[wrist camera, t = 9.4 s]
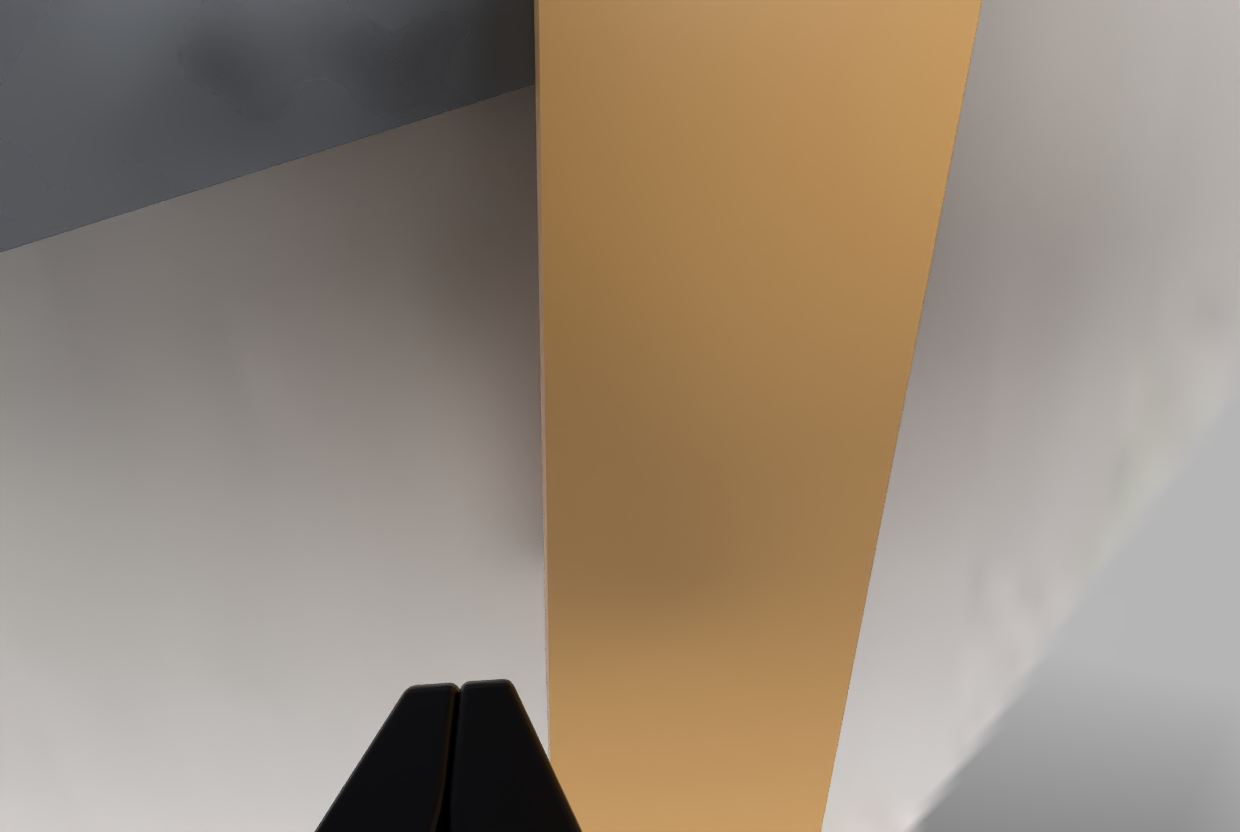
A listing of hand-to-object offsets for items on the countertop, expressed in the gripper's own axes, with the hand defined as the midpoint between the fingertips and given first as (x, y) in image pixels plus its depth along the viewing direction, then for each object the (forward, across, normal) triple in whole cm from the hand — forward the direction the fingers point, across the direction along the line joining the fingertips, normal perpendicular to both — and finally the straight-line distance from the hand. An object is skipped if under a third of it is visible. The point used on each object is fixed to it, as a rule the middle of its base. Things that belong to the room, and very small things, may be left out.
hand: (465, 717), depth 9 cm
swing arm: (+7, -3, -5) cm, 9 cm away
